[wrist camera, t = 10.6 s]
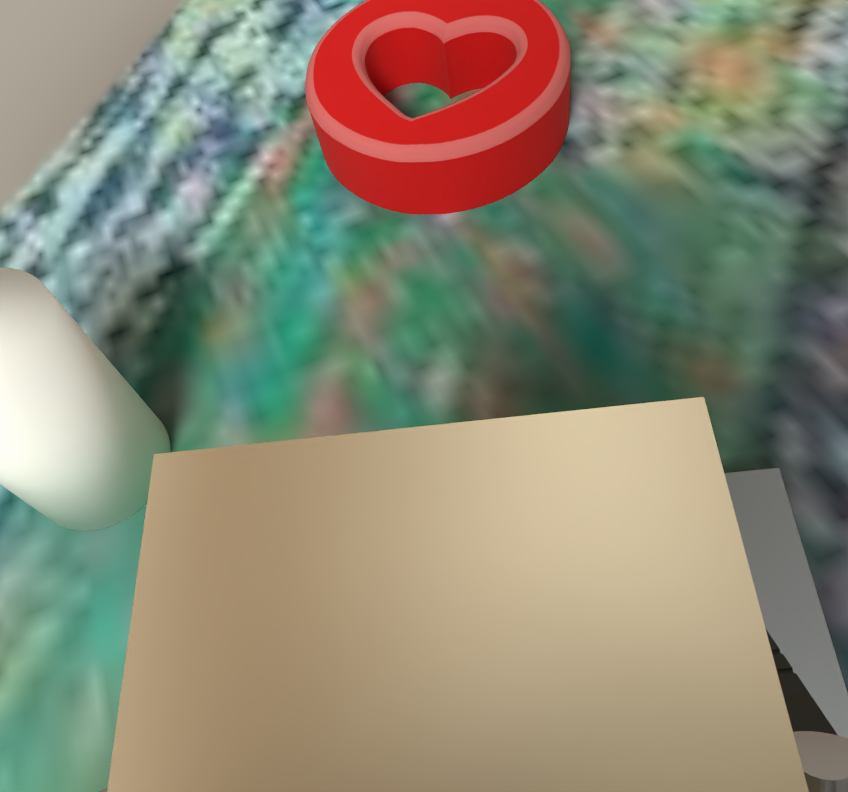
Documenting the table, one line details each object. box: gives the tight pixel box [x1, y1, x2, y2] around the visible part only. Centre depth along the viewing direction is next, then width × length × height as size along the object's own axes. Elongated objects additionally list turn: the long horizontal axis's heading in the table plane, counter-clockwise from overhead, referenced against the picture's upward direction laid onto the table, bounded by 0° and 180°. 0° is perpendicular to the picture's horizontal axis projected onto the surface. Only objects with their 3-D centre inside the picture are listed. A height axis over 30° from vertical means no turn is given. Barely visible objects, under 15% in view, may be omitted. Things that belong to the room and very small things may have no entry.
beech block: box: [107, 397, 809, 792], centre depth 10 cm, size 5×5×10 cm
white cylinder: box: [0, 267, 171, 531], centre depth 23 cm, size 4×4×7 cm
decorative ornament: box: [305, 0, 571, 214], centre depth 30 cm, size 10×10×3 cm
